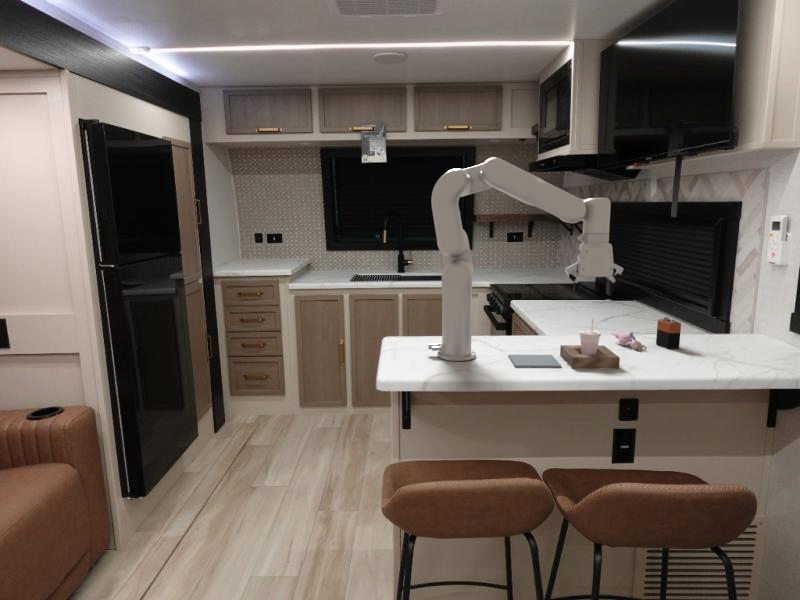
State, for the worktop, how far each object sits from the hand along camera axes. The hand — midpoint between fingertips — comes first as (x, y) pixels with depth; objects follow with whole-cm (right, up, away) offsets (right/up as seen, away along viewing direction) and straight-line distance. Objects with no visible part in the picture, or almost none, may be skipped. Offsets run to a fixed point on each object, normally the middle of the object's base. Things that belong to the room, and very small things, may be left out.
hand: (592, 295), depth 163 cm
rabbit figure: (+20, -18, +22) cm, 35 cm away
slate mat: (-17, -21, +4) cm, 27 cm away
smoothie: (0, -21, +4) cm, 22 cm away
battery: (+34, -18, +21) cm, 44 cm away
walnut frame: (0, -21, +4) cm, 21 cm away
